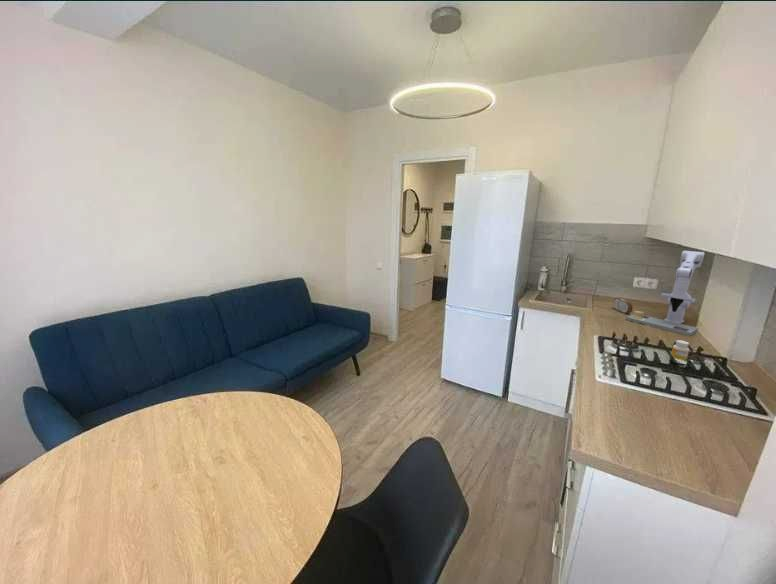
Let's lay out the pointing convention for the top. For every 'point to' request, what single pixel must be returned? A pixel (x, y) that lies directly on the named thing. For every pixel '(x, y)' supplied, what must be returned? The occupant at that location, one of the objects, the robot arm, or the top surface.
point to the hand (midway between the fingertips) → (674, 311)
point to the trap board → (665, 325)
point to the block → (638, 315)
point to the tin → (623, 305)
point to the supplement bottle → (680, 350)
